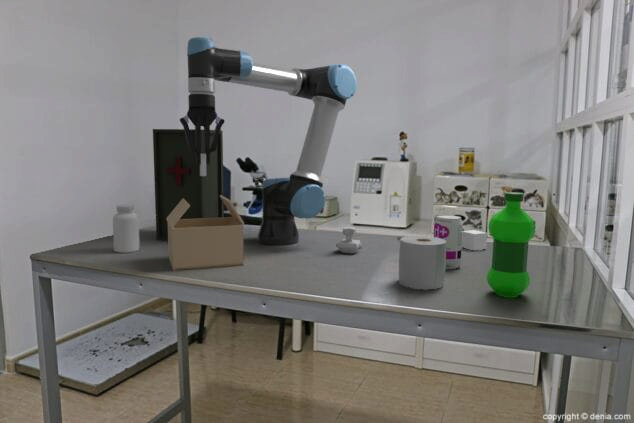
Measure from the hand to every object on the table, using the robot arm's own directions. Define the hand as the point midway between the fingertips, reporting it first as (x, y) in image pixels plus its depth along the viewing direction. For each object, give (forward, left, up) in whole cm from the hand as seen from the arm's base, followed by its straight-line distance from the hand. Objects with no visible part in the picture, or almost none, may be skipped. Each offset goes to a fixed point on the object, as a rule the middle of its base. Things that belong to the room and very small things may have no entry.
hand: (203, 175), depth 148 cm
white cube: (-91, +10, -26) cm, 95 cm away
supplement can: (-67, +28, -26) cm, 77 cm away
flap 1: (+7, 0, -11) cm, 13 cm away
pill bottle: (+22, -23, -26) cm, 41 cm away
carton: (0, 0, -26) cm, 26 cm away
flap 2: (-8, 0, -10) cm, 13 cm away
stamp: (-47, +2, -26) cm, 54 cm away
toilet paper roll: (-50, +41, -26) cm, 70 cm away
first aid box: (-1, -41, -26) cm, 49 cm away
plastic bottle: (-65, +56, -26) cm, 90 cm away
